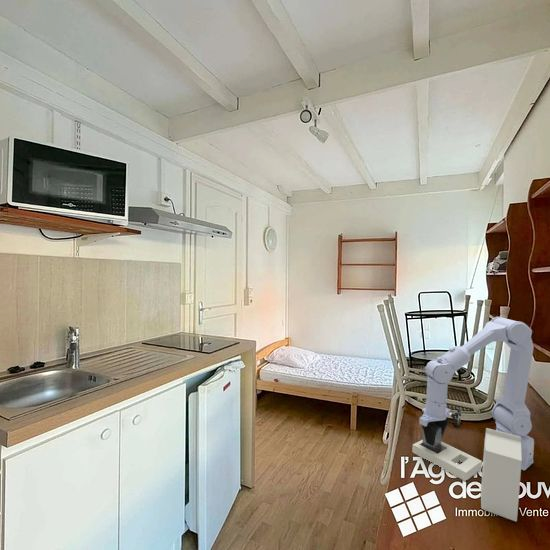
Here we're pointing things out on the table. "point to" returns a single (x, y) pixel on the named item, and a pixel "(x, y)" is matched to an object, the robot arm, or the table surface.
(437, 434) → the peg
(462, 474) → the socket plate
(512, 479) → the milk carton
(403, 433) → the table surface
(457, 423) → the valve
